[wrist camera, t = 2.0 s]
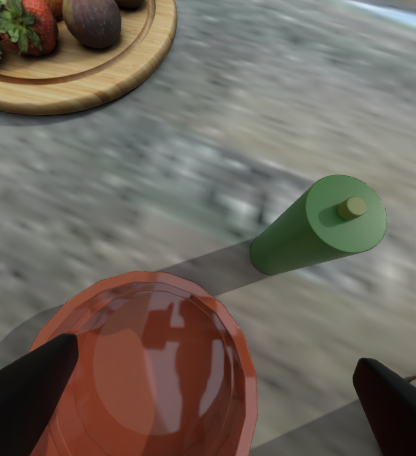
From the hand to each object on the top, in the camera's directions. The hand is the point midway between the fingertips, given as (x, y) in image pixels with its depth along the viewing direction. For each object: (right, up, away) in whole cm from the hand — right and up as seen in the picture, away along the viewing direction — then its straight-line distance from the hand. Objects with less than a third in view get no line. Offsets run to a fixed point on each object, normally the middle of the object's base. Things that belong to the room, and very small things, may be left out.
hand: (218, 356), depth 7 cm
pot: (-5, -8, +13) cm, 16 cm away
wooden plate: (-21, +32, +24) cm, 45 cm away
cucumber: (+6, +1, +16) cm, 17 cm away
